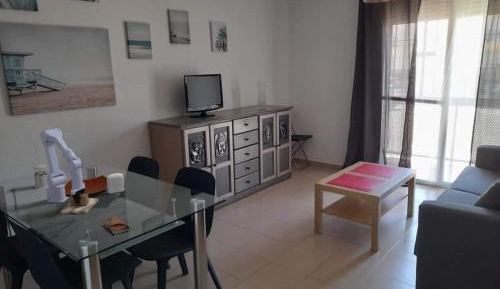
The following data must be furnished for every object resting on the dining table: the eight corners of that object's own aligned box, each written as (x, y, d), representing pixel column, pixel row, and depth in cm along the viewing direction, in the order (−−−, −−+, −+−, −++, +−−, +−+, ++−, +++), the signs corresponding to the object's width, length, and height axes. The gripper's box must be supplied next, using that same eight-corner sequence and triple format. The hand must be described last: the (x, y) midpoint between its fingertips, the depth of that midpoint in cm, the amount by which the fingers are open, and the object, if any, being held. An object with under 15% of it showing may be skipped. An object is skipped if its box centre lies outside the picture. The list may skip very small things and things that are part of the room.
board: (60, 213, 212) (60, 211, 212) (75, 200, 231) (74, 198, 230) (85, 213, 212) (85, 210, 212) (98, 200, 231) (98, 198, 230)
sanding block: (70, 206, 219) (69, 196, 217) (73, 203, 223) (72, 193, 221) (86, 205, 219) (85, 196, 217) (88, 203, 223) (88, 193, 221)
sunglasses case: (99, 224, 199) (105, 212, 200) (111, 227, 204) (117, 215, 205) (113, 236, 186) (119, 223, 187) (126, 238, 191) (131, 226, 192)
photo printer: (123, 189, 250) (121, 171, 247) (125, 191, 247) (123, 173, 244) (107, 192, 245) (105, 174, 242) (108, 194, 241) (107, 175, 238)
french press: (39, 189, 249) (34, 153, 243) (29, 186, 255) (24, 150, 249) (53, 185, 257) (48, 149, 251) (43, 182, 263) (39, 147, 257)
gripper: (78, 183, 210) (81, 206, 213) (89, 175, 224) (91, 197, 227) (65, 184, 210) (68, 206, 213) (77, 175, 224) (79, 197, 227)
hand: (79, 202), depth 220 cm, fingers closed on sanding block, 4 cm apart
